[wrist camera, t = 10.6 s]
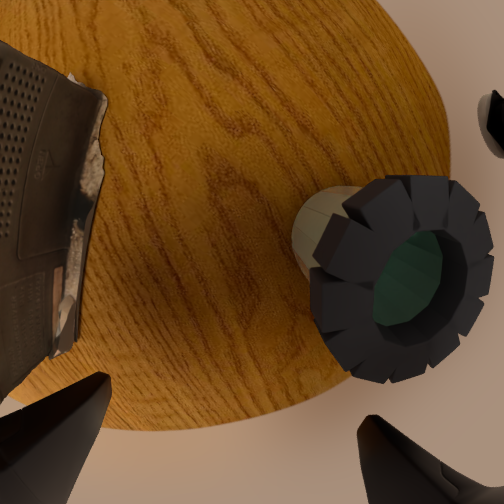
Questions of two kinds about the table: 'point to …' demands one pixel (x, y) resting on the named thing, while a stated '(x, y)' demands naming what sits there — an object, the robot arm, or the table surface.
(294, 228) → the cup
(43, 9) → the table surface
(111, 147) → the table surface
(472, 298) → the ring
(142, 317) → the table surface
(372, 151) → the table surface
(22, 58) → the radio
